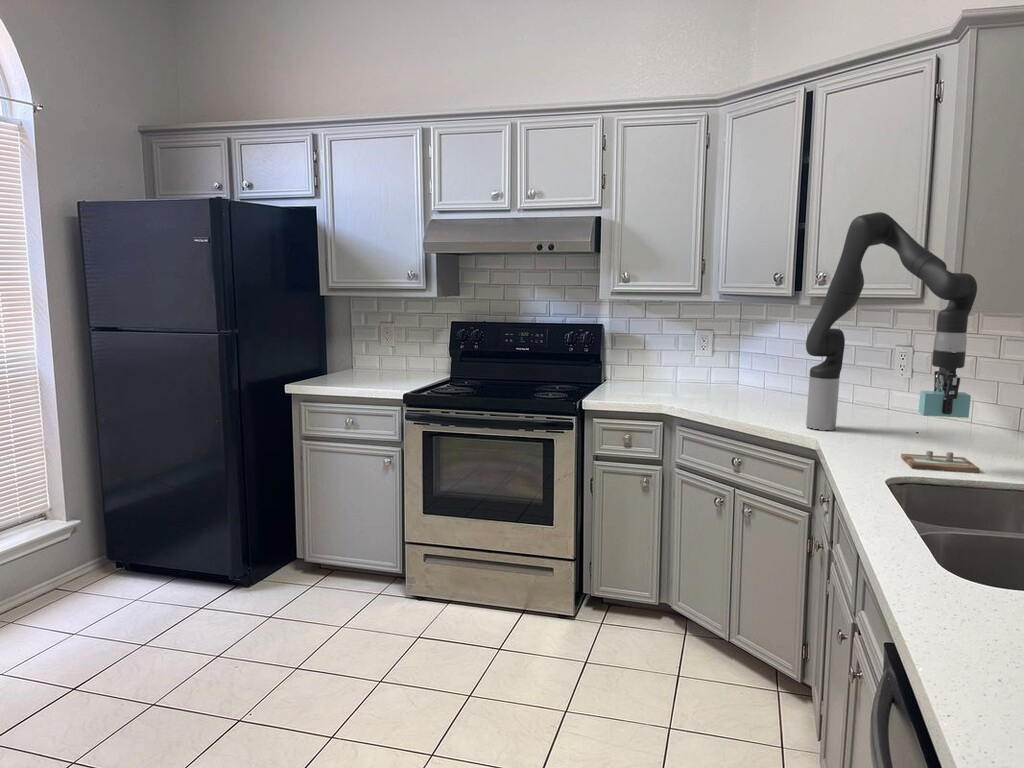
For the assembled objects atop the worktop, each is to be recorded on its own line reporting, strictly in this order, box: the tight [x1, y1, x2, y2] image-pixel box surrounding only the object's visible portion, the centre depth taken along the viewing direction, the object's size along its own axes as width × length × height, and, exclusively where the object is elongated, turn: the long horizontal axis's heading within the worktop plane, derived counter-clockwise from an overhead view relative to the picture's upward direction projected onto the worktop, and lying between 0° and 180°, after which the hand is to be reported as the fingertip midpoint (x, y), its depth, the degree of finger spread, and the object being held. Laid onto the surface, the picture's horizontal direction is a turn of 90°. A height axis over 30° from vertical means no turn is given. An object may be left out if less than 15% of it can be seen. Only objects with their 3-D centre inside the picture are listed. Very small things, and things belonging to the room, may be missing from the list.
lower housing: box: [918, 390, 972, 419], centre depth 203 cm, size 5×11×6 cm, turn 76°
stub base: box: [900, 450, 980, 474], centre depth 206 cm, size 12×16×4 cm
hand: (943, 411), depth 204 cm, fingers closed on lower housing, 5 cm apart
